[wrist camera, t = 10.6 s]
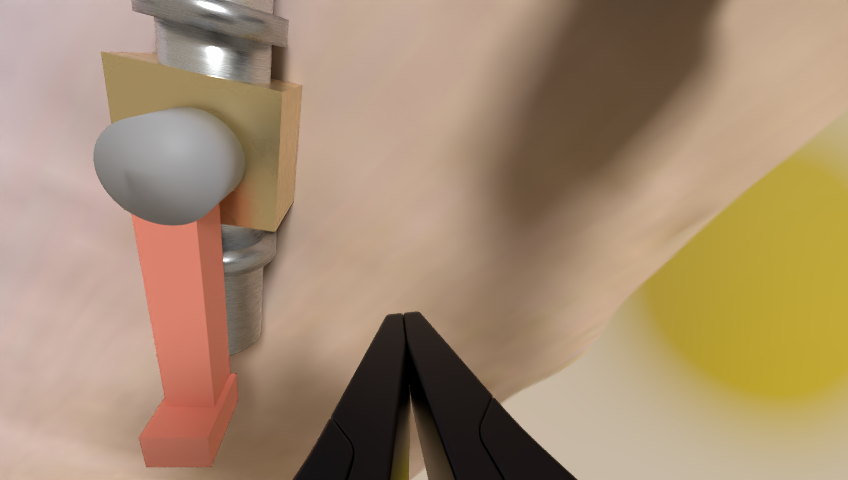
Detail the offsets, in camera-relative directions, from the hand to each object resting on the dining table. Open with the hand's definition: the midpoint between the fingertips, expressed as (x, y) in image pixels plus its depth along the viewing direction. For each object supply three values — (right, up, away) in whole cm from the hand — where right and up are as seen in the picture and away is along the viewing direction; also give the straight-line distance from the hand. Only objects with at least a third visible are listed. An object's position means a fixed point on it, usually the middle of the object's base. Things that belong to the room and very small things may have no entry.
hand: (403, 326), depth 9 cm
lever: (-9, +1, +7) cm, 12 cm away
